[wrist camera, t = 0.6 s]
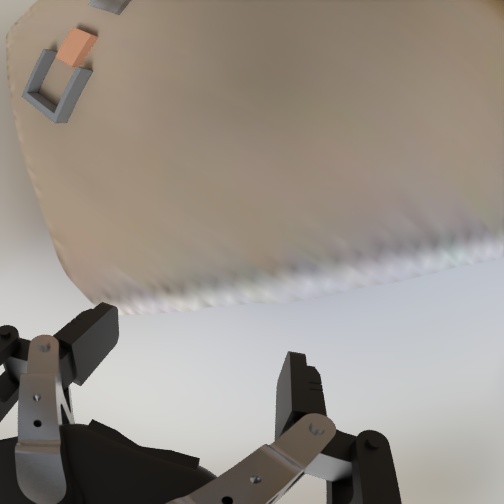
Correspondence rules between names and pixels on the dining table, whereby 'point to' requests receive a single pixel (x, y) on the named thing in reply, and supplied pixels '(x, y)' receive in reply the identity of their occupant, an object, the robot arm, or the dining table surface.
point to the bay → (69, 95)
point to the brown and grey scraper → (110, 5)
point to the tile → (76, 47)
